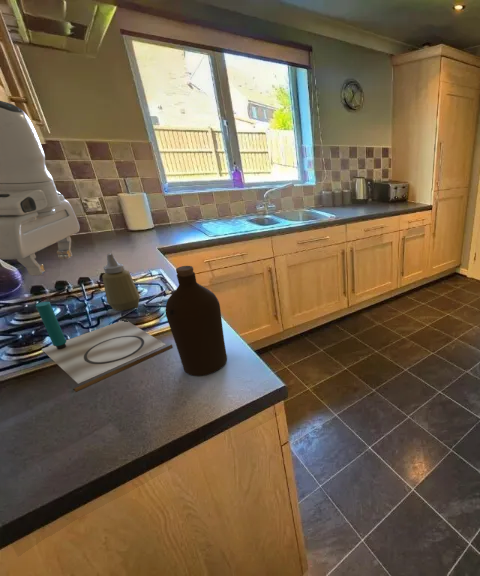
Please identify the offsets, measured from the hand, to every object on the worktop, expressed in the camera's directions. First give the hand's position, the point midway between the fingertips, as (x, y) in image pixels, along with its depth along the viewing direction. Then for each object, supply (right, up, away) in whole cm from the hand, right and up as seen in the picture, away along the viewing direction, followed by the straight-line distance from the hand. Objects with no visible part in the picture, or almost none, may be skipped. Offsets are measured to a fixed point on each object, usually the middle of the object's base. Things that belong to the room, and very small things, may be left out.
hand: (53, 265), depth 67 cm
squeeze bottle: (-12, -11, +35) cm, 39 cm away
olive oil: (+25, -23, +13) cm, 36 cm away
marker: (-12, -19, +14) cm, 27 cm away
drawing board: (-2, -20, +16) cm, 26 cm away
